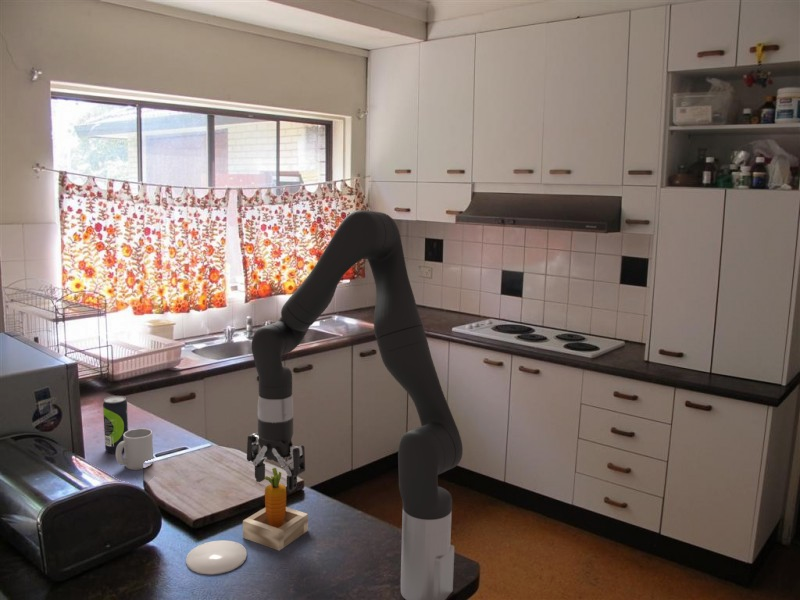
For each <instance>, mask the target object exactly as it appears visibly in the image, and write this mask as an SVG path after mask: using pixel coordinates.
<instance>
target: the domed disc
mask: <svg viewBox="0 0 800 600" xmlns="http://www.w3.org/2000/svg"><path fill="white" fill-rule="evenodd" d="M247 555H248V554H247V549H246V548H245V546H243V544H241V543H239V542H237V541H233V540H221V539H220V540H213V541H209V542H205V543H201V544H199V545H197V546H195V547H194V548H192V549H191V550H190V551H189V552H188V553H187V556H186V559H185V562H186V566H187V567H188V569H189V570H190V571H192V572H194V573H197V574H199V575H200V574H201V575H221V574H225V573H228V572H231V571H233V570H236V569H237V568H239V567H240V566H241V565H243V564H244V563H245V561H246V559H247V557H248V556H247Z"/></svg>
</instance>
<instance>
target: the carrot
mask: <svg viewBox="0 0 800 600" xmlns="http://www.w3.org/2000/svg"><path fill="white" fill-rule="evenodd" d="M271 471H272V474H273V475H272V476H271V477H270V476H266V475H265V479H264V480H267V481H268V482H269V483H270V484H269V485H266V487H265V488H264V505H265V507H264V508H266V515H267V520H268V524H269V525H270V526H273V527H276V528H279V527H281V526H282V524H283V522H284V517H285V511H286V507H287V486H285V485H284V484H282V483H280V482H281V478H282V472H281V471H278V470H277V468H276V467H272V470H271Z"/></svg>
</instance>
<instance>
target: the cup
mask: <svg viewBox="0 0 800 600" xmlns="http://www.w3.org/2000/svg"><path fill="white" fill-rule="evenodd" d="M123 436H124V441H122V442H120V443H119V444H118V445H117V448H116V453H115V459H116V462H117V463H118V464H119V465H120V466H125V468H126V469H128V470H132V471H138V470H139V471H140V470H144V469H143V463H144V462H145V461H148V460H151V459H153V460H154V447H153V446H154V444H153V443H154V442H153V431H152V429H150V428H135V429H133V428H132V429H128V431H127V432H125V433H124V434H123ZM123 447H124V452H122V449H123ZM123 453H124V457H123Z"/></svg>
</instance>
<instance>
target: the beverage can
mask: <svg viewBox="0 0 800 600" xmlns="http://www.w3.org/2000/svg"><path fill="white" fill-rule="evenodd" d="M126 399H127V398H126V396H124V395H112V396H109V397H105V398H104V399H103V404H102V410H103V426H104V427H103V431H104V448H105V450H106V452H108V453H110V454H116V448H117V445H118V444H119V443H120V442H122V441H124V436H123V434H124V433H125V432H127V431H129V417H128V416H129V415H128V413H129V412H128V401H127V400H126ZM122 453H124V447H123V449H122Z"/></svg>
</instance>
